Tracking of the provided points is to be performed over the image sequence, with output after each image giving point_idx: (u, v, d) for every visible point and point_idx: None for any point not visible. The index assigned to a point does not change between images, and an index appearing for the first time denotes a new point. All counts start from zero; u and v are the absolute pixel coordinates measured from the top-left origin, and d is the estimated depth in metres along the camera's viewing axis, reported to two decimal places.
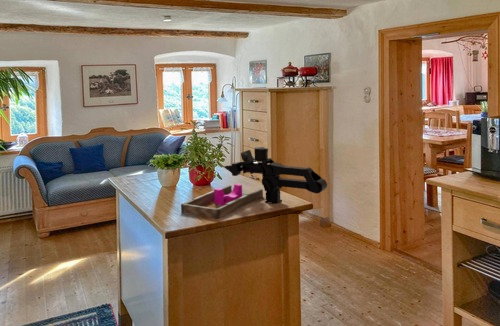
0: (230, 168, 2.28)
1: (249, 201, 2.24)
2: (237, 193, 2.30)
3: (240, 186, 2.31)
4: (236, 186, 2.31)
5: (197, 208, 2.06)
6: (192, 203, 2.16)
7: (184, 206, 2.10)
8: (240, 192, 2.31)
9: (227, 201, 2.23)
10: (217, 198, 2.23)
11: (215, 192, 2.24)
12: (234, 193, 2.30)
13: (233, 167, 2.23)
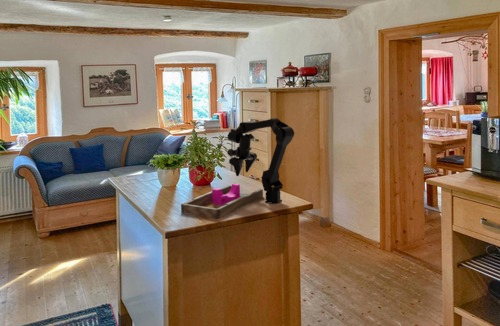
0: (237, 169, 2.31)
1: (249, 201, 2.24)
2: (235, 193, 2.31)
3: (238, 186, 2.31)
4: (234, 186, 2.32)
5: (197, 208, 2.06)
6: (192, 203, 2.16)
7: (184, 206, 2.10)
8: (238, 192, 2.32)
9: (225, 201, 2.24)
10: (215, 198, 2.24)
11: (213, 192, 2.24)
12: (232, 193, 2.30)
13: (231, 162, 2.27)
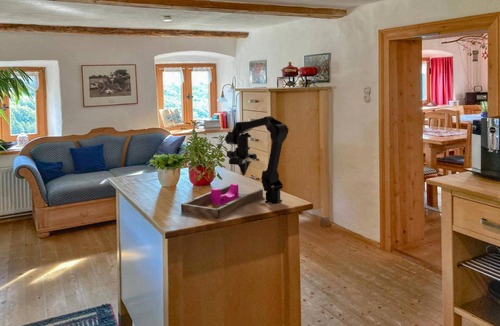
0: (242, 167, 2.35)
1: (249, 201, 2.24)
2: (234, 193, 2.31)
3: (236, 186, 2.32)
4: (232, 186, 2.32)
5: (197, 208, 2.06)
6: (192, 203, 2.16)
7: (184, 206, 2.10)
8: (236, 192, 2.32)
9: (224, 201, 2.24)
10: (214, 198, 2.24)
11: (212, 192, 2.24)
12: (231, 193, 2.31)
13: (231, 162, 2.28)
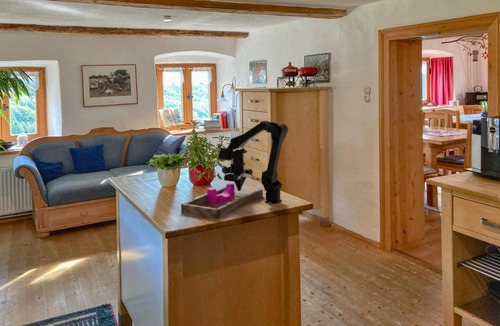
0: (237, 183, 2.32)
1: (249, 201, 2.24)
2: (230, 192, 2.31)
3: (233, 185, 2.32)
4: (228, 185, 2.32)
5: (197, 208, 2.06)
6: (192, 203, 2.16)
7: (184, 206, 2.10)
8: (233, 191, 2.32)
9: (220, 200, 2.24)
10: (210, 197, 2.24)
11: (208, 192, 2.24)
12: (227, 192, 2.31)
13: (226, 178, 2.26)
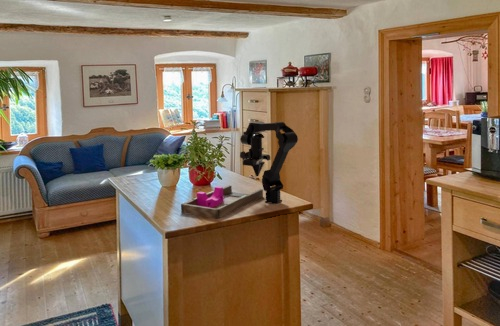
0: (256, 168, 2.31)
1: (249, 201, 2.24)
2: (219, 196, 2.26)
3: (221, 188, 2.27)
4: (217, 189, 2.27)
5: (197, 208, 2.06)
6: (192, 203, 2.16)
7: (184, 206, 2.10)
8: (221, 195, 2.27)
9: (211, 204, 2.18)
10: (201, 202, 2.17)
11: (198, 196, 2.18)
12: (216, 196, 2.25)
13: (245, 163, 2.25)
